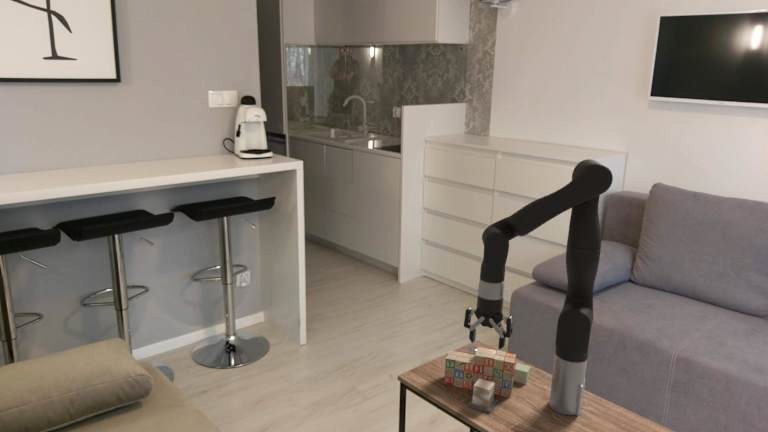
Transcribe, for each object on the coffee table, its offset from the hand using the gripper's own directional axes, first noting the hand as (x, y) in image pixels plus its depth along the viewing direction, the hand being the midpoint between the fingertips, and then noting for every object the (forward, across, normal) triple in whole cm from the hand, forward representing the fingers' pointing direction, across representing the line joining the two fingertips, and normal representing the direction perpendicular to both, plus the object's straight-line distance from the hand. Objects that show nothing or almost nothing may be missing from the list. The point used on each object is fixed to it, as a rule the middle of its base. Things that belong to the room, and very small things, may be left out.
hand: (486, 344), depth 175 cm
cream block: (+18, -1, +1) cm, 18 cm away
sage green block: (+19, -7, -20) cm, 28 cm away
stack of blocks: (+19, +4, -8) cm, 21 cm away
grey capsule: (+19, +10, -21) cm, 30 cm away
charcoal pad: (+19, -1, +1) cm, 19 cm away
